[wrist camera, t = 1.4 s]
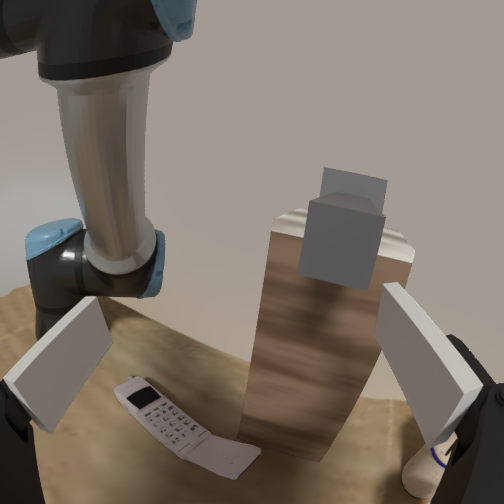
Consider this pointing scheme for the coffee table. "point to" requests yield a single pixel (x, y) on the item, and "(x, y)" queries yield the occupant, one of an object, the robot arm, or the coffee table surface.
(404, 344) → the robot arm
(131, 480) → the coffee table surface
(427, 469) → the teacup with lid
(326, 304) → the brown wooden tall block
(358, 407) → the coffee table surface
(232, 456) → the mobile phone
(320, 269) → the gray block
